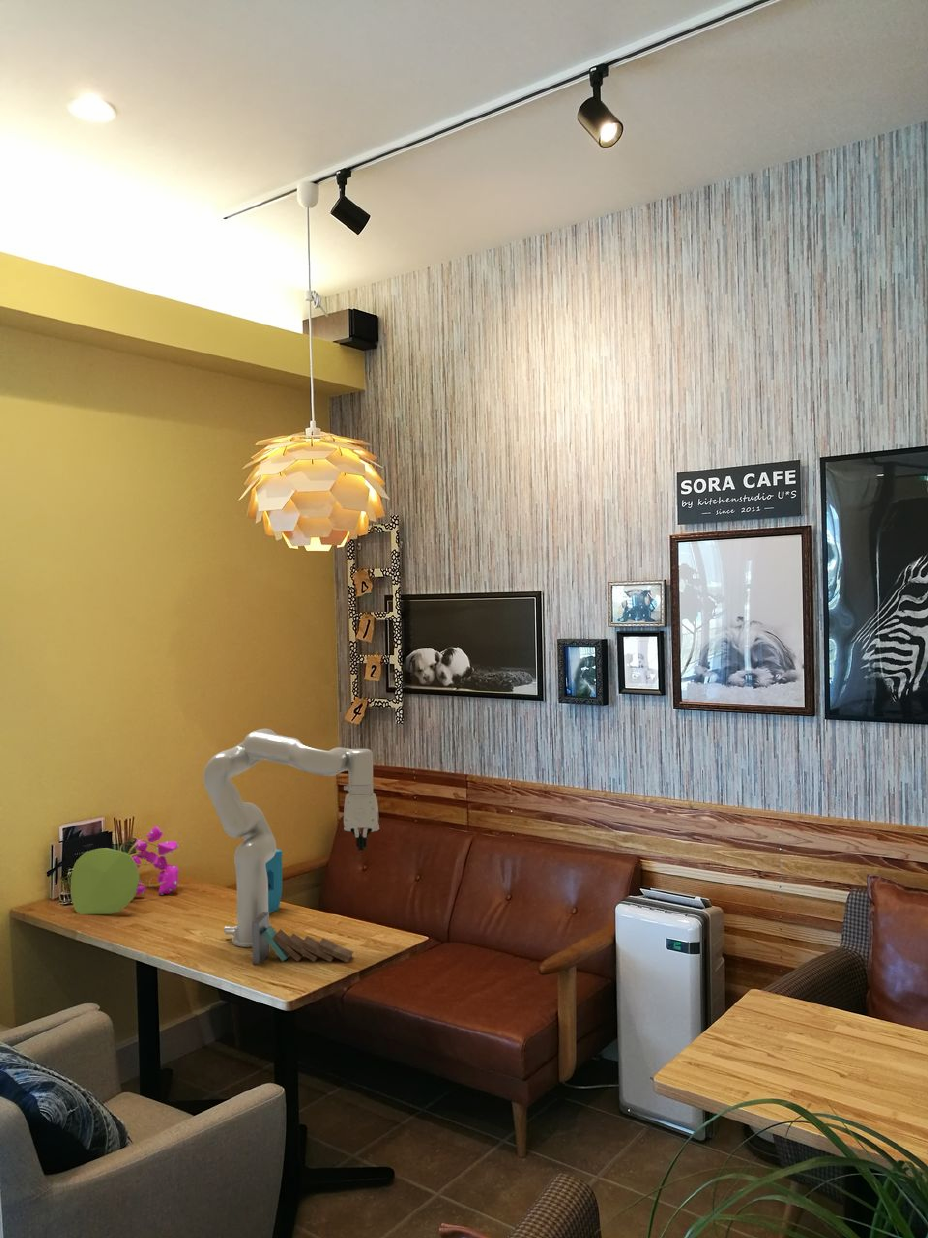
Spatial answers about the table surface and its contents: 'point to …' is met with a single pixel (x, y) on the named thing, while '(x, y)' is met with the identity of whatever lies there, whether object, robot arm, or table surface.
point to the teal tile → (268, 935)
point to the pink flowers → (119, 876)
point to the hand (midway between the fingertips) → (361, 849)
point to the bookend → (260, 938)
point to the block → (274, 881)
